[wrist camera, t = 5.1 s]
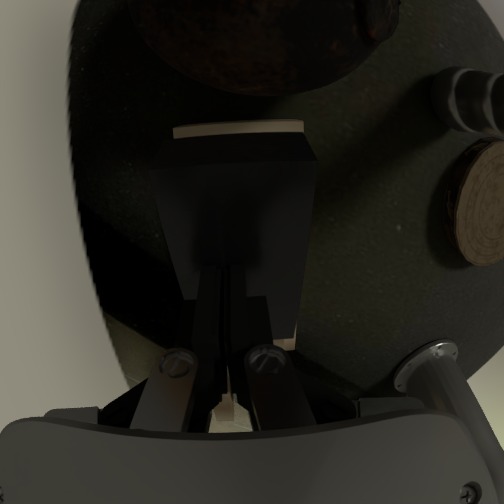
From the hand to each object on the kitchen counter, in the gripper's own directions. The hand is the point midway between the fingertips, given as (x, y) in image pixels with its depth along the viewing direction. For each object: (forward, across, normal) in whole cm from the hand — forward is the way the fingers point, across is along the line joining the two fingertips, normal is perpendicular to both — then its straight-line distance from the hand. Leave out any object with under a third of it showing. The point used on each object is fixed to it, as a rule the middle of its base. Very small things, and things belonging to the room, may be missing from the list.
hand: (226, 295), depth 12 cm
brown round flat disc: (+16, -31, +2) cm, 35 cm away
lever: (+5, -1, +5) cm, 7 cm away
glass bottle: (+17, -3, -16) cm, 24 cm away
